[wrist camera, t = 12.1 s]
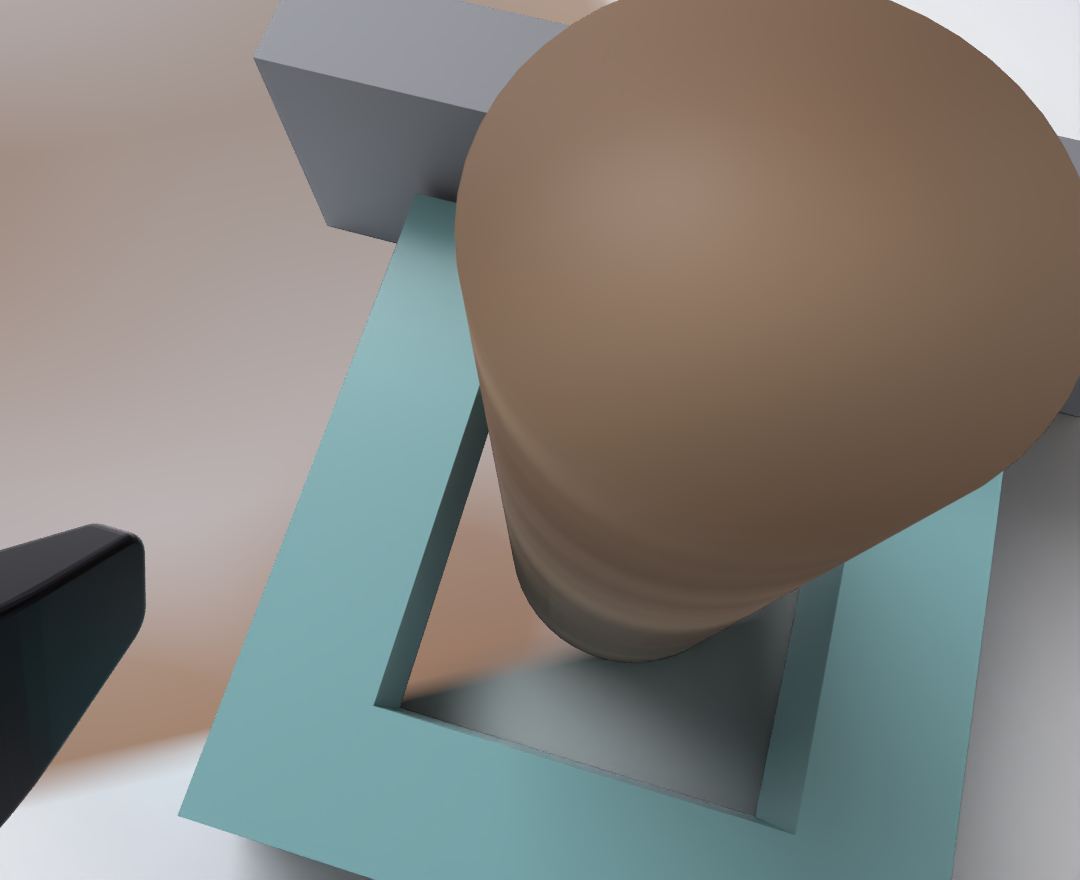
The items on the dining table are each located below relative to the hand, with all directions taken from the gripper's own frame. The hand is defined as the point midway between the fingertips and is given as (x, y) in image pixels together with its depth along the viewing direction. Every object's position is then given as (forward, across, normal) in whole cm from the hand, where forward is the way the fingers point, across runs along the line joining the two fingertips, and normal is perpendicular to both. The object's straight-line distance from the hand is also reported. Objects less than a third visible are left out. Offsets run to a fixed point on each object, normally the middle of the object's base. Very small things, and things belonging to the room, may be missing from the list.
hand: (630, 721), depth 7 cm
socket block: (+8, 0, +4) cm, 9 cm away
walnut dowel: (+9, 0, +4) cm, 9 cm away
